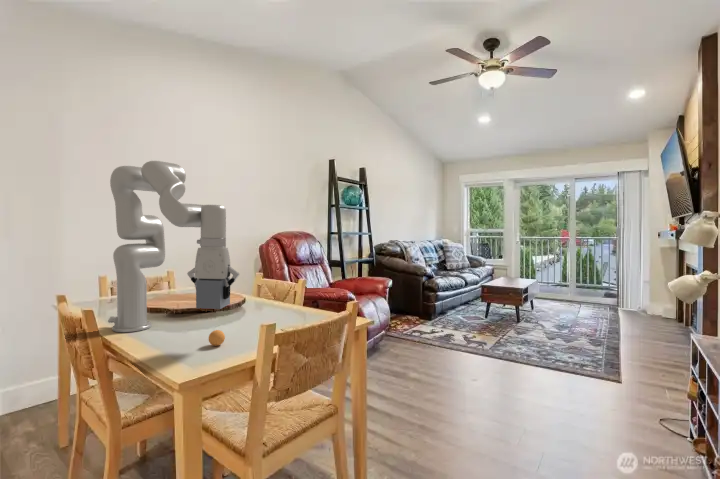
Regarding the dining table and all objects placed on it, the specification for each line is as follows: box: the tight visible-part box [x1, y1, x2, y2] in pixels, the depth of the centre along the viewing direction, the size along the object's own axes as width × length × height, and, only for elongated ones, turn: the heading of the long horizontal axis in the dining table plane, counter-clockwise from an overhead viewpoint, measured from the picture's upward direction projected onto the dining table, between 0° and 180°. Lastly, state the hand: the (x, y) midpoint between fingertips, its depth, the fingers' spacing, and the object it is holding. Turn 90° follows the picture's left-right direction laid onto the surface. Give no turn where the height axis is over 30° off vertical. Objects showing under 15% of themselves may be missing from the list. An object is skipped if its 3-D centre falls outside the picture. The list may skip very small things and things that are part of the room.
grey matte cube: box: [195, 276, 231, 310], centre depth 123 cm, size 8×8×9 cm
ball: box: [208, 329, 226, 347], centre depth 124 cm, size 5×5×5 cm
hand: (213, 297), depth 122 cm, fingers closed on grey matte cube, 7 cm apart
